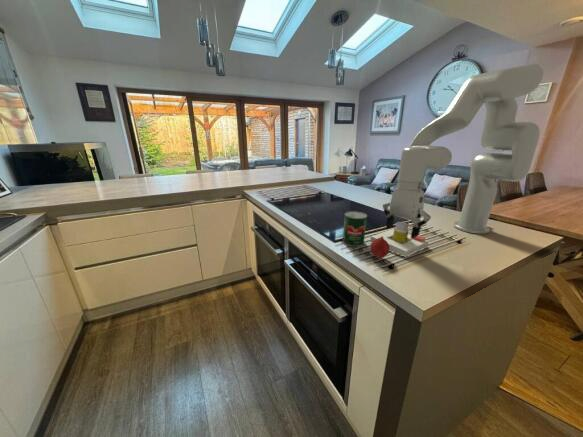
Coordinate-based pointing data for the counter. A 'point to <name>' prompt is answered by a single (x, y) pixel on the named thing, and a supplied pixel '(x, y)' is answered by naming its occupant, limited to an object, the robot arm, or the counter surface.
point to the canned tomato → (354, 228)
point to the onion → (379, 247)
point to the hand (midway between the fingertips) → (401, 232)
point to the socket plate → (405, 248)
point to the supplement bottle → (400, 232)
